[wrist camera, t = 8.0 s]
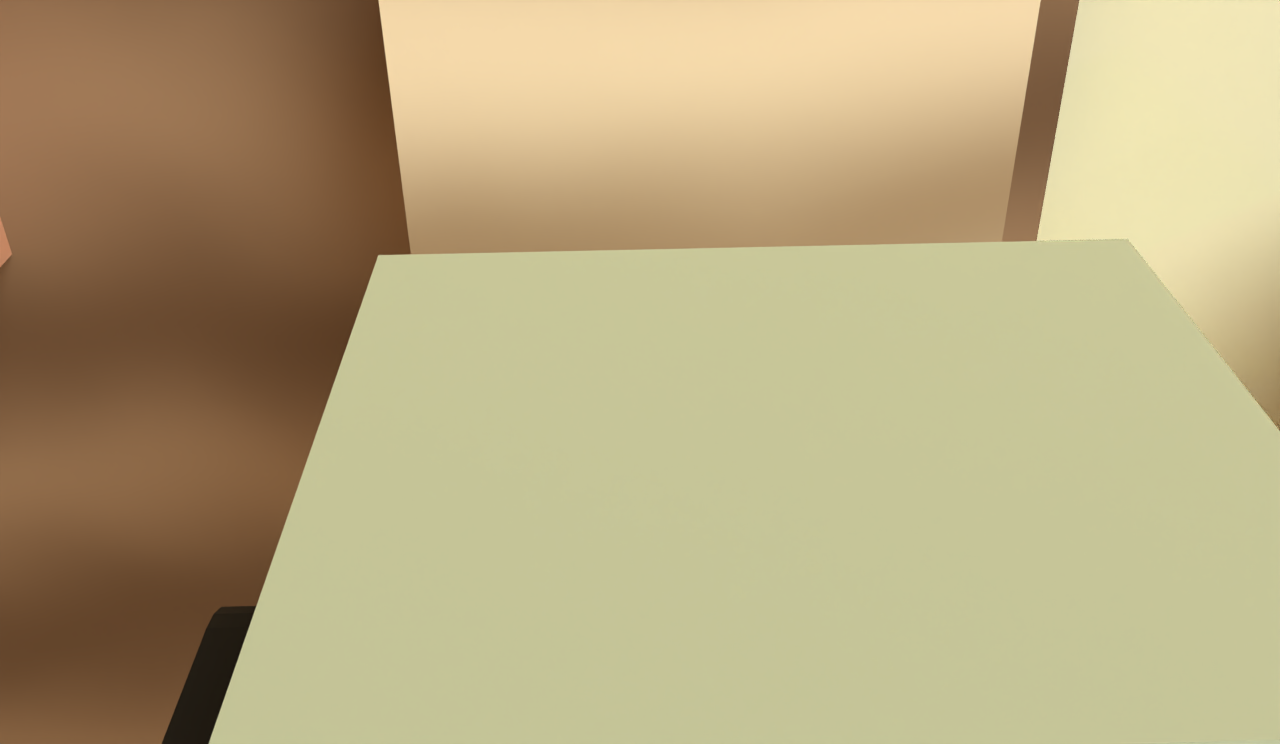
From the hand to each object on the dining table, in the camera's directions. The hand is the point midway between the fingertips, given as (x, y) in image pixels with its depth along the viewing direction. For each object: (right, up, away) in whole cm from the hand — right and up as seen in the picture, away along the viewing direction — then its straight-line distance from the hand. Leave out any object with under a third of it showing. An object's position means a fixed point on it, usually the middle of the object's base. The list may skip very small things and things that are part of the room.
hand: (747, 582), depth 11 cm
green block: (0, 0, 0) cm, 1 cm away
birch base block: (0, +5, +9) cm, 11 cm away
